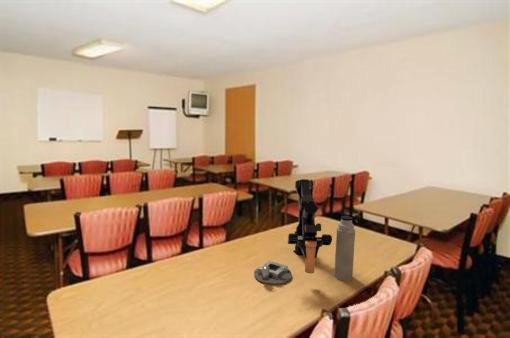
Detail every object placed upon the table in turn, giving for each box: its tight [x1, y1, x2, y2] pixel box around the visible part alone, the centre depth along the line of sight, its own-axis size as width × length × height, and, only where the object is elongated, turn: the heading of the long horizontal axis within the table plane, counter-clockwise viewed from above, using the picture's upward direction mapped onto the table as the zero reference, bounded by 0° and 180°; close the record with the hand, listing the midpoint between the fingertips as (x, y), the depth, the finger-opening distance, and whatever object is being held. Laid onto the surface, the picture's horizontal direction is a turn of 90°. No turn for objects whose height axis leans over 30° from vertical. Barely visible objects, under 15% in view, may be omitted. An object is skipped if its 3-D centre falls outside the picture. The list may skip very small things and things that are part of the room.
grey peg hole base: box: [253, 260, 293, 286], centre depth 146 cm, size 17×17×6 cm
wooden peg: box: [304, 240, 317, 274], centre depth 137 cm, size 5×5×13 cm
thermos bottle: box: [333, 215, 356, 282], centre depth 144 cm, size 8×8×28 cm
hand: (310, 258), depth 136 cm, fingers closed on wooden peg, 4 cm apart
